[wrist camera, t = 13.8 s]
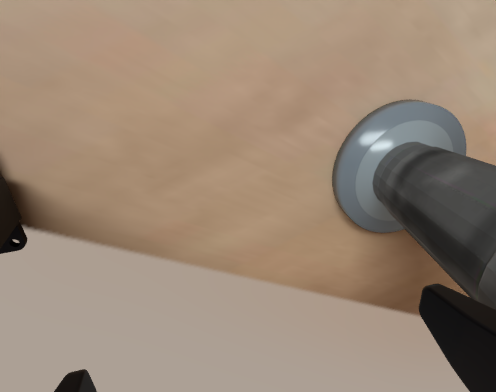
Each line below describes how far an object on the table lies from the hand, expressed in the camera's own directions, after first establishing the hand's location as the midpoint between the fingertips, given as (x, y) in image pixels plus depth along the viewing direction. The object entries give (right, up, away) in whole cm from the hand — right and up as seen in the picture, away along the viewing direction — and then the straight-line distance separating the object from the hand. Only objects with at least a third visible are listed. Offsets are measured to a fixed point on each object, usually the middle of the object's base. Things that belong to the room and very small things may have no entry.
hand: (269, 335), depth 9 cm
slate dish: (+9, +6, +15) cm, 18 cm away
